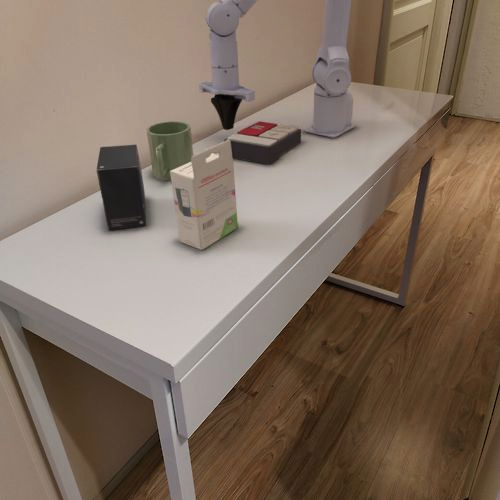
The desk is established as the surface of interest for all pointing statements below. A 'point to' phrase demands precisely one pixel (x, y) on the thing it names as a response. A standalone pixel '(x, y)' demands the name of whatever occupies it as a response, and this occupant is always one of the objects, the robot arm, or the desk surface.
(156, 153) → the mug
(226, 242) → the desk surface
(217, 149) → the ink box
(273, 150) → the calculator
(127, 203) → the small box
